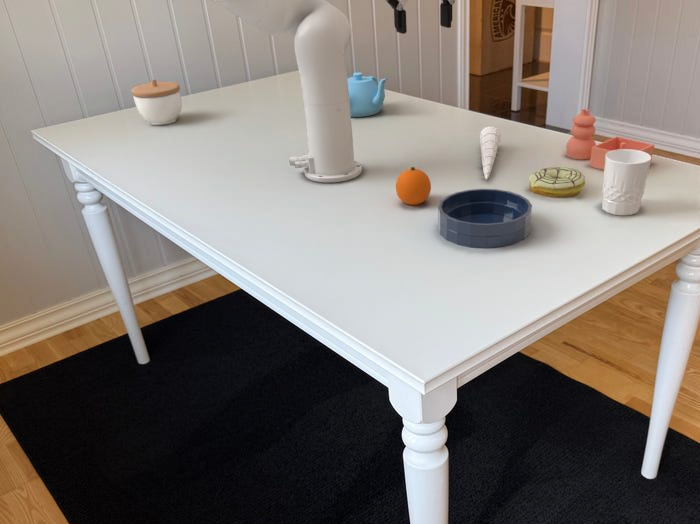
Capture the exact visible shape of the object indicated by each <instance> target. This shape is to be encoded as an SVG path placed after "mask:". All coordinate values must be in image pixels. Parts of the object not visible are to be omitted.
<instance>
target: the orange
mask: <svg viewBox="0 0 700 524" xmlns="http://www.w3.org/2000/svg"><path fill="white" fill-rule="evenodd" d="M431 191H432V183H431V179H430V178H429V176H428V175H427V174H426V172H424V171H423V170H421V169H418V168H416V167H415V166H412V167H410V168H409V169H408V168H407V169H406V170H404V171H402V172H401V173H400V174H399V176H397V179H396V181H395V192H396V195H397V196H398V198H399V200H400V201H401V202H402V203H403V204H406V205H409V206H416V205H420V204H423V203H424V202H425V201H426V200H427V199H428V197H429V196H430V194H431Z"/></svg>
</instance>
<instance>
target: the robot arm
mask: <svg viewBox="0 0 700 524" xmlns="http://www.w3.org/2000/svg"><path fill="white" fill-rule="evenodd" d="M212 1H213V2H215V3H216V4H218V5H220V6H222V7H223V8H224V9H225V10H227V11H229V12H230V13H232V14H234V15H235V16H237V17H238V18H239V19H241V20H243V21H245V22H246V23H248V24H249V25H251V26H253V27H254V28H256V29H257V30H259V31H260V32H262V33H264V34H266V35H269V36H280V35H282V34H284V33H287V34H288V35H290V36H292V37H293V38H294V43H293V44H294V54H295V59H296V64H297V68H298V73H299V79H300V87H301V93H302V101H303V102H302V103H303V109H304V118H305V125H306V136H307V144H308V151H307V153H306V154H303V155H302V156H298V155H296V156H289V157H288V158H289V159H288V160H289V166H290V167H292V166H293V167H294V168H295V169H301V168H304V170H303V172H304V176H305V178H307V179H308V180H310V181H312V182H313V181H314V182H317V183H340V182H346V181H349V180H352V179H355V178H357V177H358V176H360V175H361V174H362V172H363V166H362V164H361V163H360V162H359V161H357V160H355V152H354V140H353V125H352V117H351V112H350V99H349V88H348V79H347V78H348V73H347V66H346V57H345V51H346V50H347V49H348V47H349V45H350V43H351V38H352V28H351V25H350V22H349V19H348V17H347V16H346V15H345V14H344V13H343V12H342V11H341V10H340V9H339V8H337V7H336V6H334V5H333V4H331V3H330V2H328V1H327V0H212ZM408 1H409V0H385V2H387V3H388V5H389V6H390V7H391V9H393V20H394V28H395V31H396V33H399V34H402V35H404V34H406V33H407V30H408V29H407V11H406V10H405V9H404V7H405V6H406V4H407V2H408ZM441 1H442V2H440V4H439V13H440V14H439V18H440V19H439V23H440V26H441V27H443V28H447V29H450V28H452V22H453V5H454V4H455V3H456V0H441Z"/></svg>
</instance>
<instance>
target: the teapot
mask: <svg viewBox="0 0 700 524" xmlns="http://www.w3.org/2000/svg"><path fill="white" fill-rule="evenodd" d="M363 74H364V73H363V72H360V71H359V72H358V71H357V72H354V73H352V76H350V77H347V79H348V88H349V99H350V112H351V118H352V117H353V118H355V117H356V118H361V117H363V118H364V117H369V116H374V115H377V114H378V113H379V112H380V111H381V110H382V109H383V107H384V101H385V97H386V92H385V91H386V90H385V83H386V82H387V80H388V79H389V77H386V78H382V79H380V81H378V78H377V77H376V76H374V75H369V76H363Z"/></svg>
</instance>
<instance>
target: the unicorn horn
mask: <svg viewBox="0 0 700 524" xmlns="http://www.w3.org/2000/svg"><path fill="white" fill-rule="evenodd" d="M500 142H501V132H500V130H499V129H498V128H497V127H495V126H487V127H484V128H483V129H482V130H481V131H480V134H479V145H480V156H481V157H480V158H481V165H482V171H483V176H484V179H485V180H488V179H489V178H490V175H491V172H492V170H493V166H494V163H495V160H496V156H497V154H498V149H499V146H500Z"/></svg>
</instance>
